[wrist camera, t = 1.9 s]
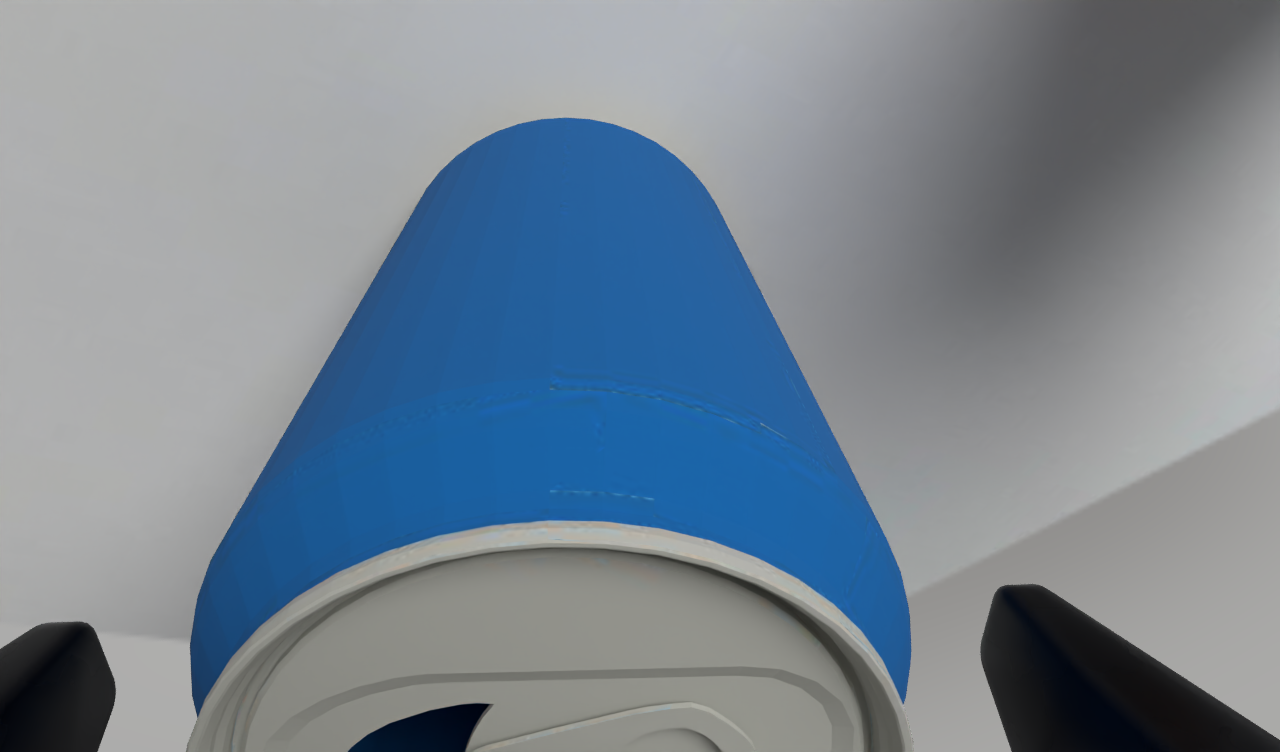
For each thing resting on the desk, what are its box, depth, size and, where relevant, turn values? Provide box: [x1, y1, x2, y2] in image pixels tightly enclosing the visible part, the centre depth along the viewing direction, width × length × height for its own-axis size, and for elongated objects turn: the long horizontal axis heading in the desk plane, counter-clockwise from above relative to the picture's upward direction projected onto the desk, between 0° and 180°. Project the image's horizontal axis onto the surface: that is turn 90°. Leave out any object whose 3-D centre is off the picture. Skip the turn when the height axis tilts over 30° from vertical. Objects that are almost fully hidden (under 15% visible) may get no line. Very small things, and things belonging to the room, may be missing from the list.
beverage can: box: [186, 118, 914, 752], centre depth 12 cm, size 6×6×12 cm
